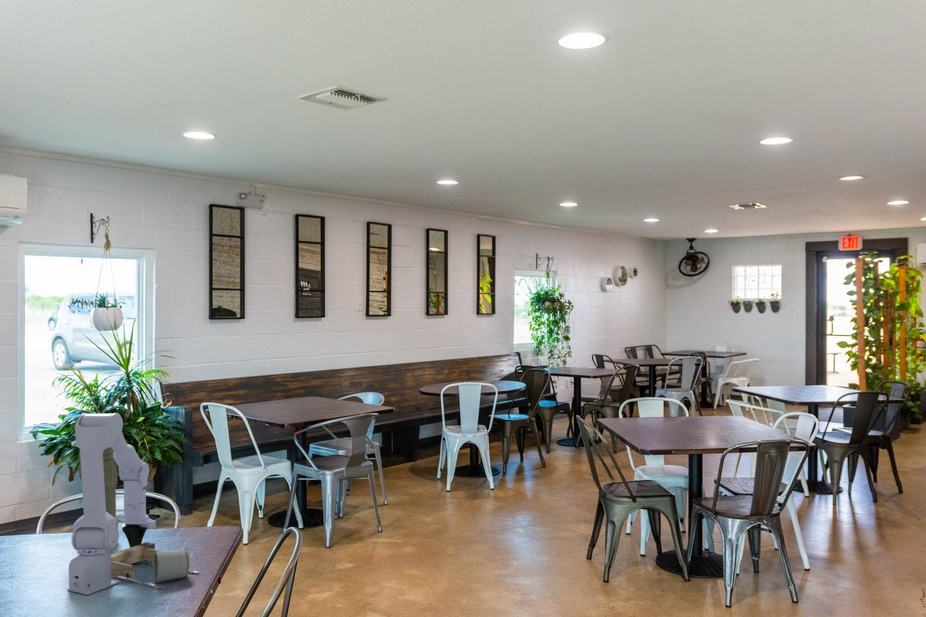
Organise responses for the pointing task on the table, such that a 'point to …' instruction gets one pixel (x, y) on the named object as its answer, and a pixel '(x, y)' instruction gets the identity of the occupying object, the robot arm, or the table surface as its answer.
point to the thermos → (109, 480)
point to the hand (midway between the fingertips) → (135, 550)
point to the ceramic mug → (170, 565)
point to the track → (138, 580)
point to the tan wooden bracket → (131, 558)
